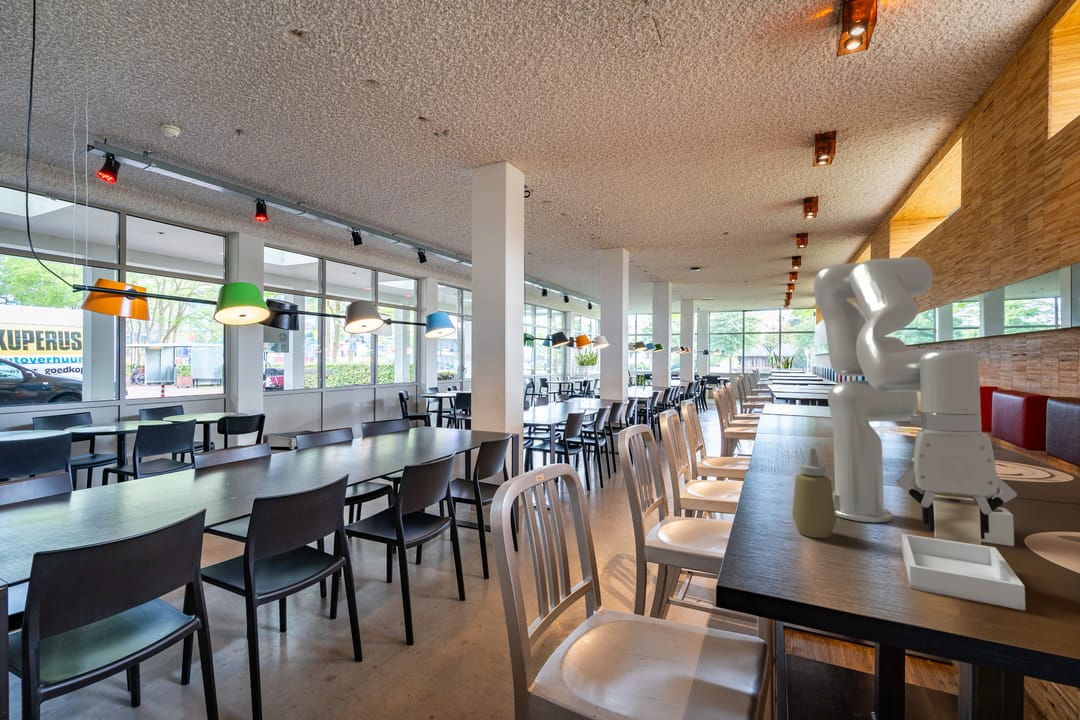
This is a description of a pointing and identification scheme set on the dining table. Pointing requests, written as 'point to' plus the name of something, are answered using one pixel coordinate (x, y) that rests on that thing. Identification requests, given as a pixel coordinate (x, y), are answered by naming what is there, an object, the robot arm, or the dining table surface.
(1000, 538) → the grey block
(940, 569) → the tray
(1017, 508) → the dining table surface
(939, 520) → the ash block
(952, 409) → the robot arm
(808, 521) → the squeeze bottle
